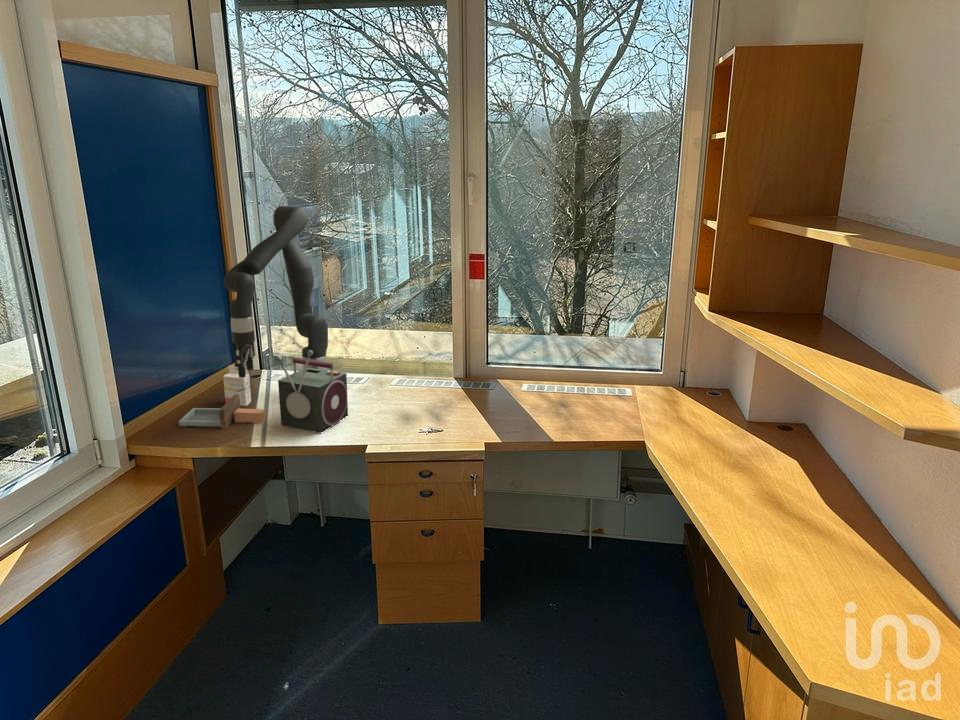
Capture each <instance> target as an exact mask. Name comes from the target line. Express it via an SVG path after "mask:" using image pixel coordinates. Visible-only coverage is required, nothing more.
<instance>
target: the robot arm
mask: <svg viewBox="0 0 960 720" xmlns="http://www.w3.org/2000/svg"><path fill="white" fill-rule="evenodd" d="M308 220H309V219H308V214H307V212H306V211H305V210H304V209H303V208H302V207H300V206H299V207H298V206H293V205H292V206H290V205H289V206H288V205H280V206H278V207H276V209H275V210H274V212H273V223H274V224H273V225H274V228H275V230H276V231H274V232H273V233H272V234H271V235H270V236H268V237H266V238H265V239H263V240H262V241H260V242H259V243H258V244H257V245H255V246H254V247H253V248H252V249H251V251H250V252H249V253H248V254H247V255H246V256H245V258H244V259H243V260H241V261H240V262H238V263H237V264H236V265H234V266H233V267H231V269H229V270H228V271H227V273H226V274H225V275H224V278H223V285H224V288H225V289H226V290H228V291H229V292H232V293H236V298H235V299H232V300H231V301H230V303H229V305H230V306H229V310H230V329H231V341H232V343H233V344H235V345H237V348H236V349H234V350H233V354H234V355H233V356H234V366H235V367H238V368H237V370H238V373H239V377H245V376H246V372H245V366H247V370H248V371H253V370H254V368H255V367H254V357H255V356H256V349H255V342H256V334H255V323H254V322H255V321H254V318H253V317H254V316H253V308H252V304H253V299H254V293H255V286H256V284H255V280H254V278H253V276H256V275H259V274H261V273H262V272H263V271H264V270H265V268H266V267H267V265H268V264H269V263H271V261H272V259H274V257H276V255H277V254H278V253H280V251H282V254H283V255H282V256H283V260H284V264H285V270H286V274H287V279H288V280H287V281H288V283H289V288H290V292H291V297H292V298H291V299H292V303H293V308H294V309H293V310H294V318H295V319H294V320H295V327H296V332H298V334H299V335H300V336H301V337H303V338H307V346H304V347H303V348H302V349H301V358H302V359H307V357H308V355H307V351H308V350H311V351H312V352H313V355H312V356H310V359H309V360H315V361H322V362H327V350H328V348H329V347H328V346H329V326H328V323H327V320H326V319H325V318H324V317H321V316H319V315H315V314H313V313H314V312H313V310H312V309H313V308H312V305H311V296H312V293H313V290H314V284H315V280H314V279H315V278H314V272H313V268H312V264H311V262H310V260H309V259H308V257H307V255H306V253H305V252H304V250H303V249H302V247H301V246H300V244H299V241H298V239H297V236H298V235H300V234H301V232H303V231H304V230H305V228H306V227H307V225H308ZM307 367H309V368H315V369H322V370H328V368H324V367H318V366H311V365H308V366H307ZM304 368H305V364H302V369H304Z"/></svg>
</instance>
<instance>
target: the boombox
mask: <svg viewBox="0 0 960 720" xmlns="http://www.w3.org/2000/svg"><path fill="white" fill-rule="evenodd" d="M307 355H308V357H307V359H302V357H301V358H300V357H293V356H292V363H293V364H292V366H293V373H291V374H289V373H288V371H287V368H286V367H285V365H284V363H283V361H282V360H283V357H282V356H281V355H277V356H276V357H275V360H276V362H279V364H280V366H281V368H282V370H283V371H284V373H285V377H282V378H281V379H278V380H277V385H278V387H277V388H278V397H279V402H278V403H279V415H280V426H281V427H285V428H286V427H287V428H292V429H296V430H301V429H302V431H307V430H308V432H312V431H315V432H314V433H317V432H323V431H325V430H326V429H328V428H329V427H331V426H332V425H334V426H336V425H337V424H339V423H340V422H339V421H340V420H342V419H343V418H345V417H346V416H348V417H349V407H348V406H349V404H348V403H349V402H348V382H347V381H348V378H347V375H348V374H347V373H346V372H341V371H338V370H333V368H334V364H333V362H329V361H326V362H322V361H315V360H309V359H310V356H312V355H313V352H312V351H311V350H308V351H307ZM297 364H300V365H303V364H305V368H304V369H303V368H302V369H300V370H298V371H297ZM308 365H311V366H318V367H324V368H327V370H322V369H315V368H309V367H307V366H308ZM328 369H329V370H328ZM345 419H346V418H345ZM342 421H343V420H342ZM338 422H339V423H338ZM335 424H336V425H335ZM331 428H332V427H331ZM328 430H329V429H328ZM326 431H327V430H326ZM326 431H325V432H326ZM323 433H324V432H323Z"/></svg>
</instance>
